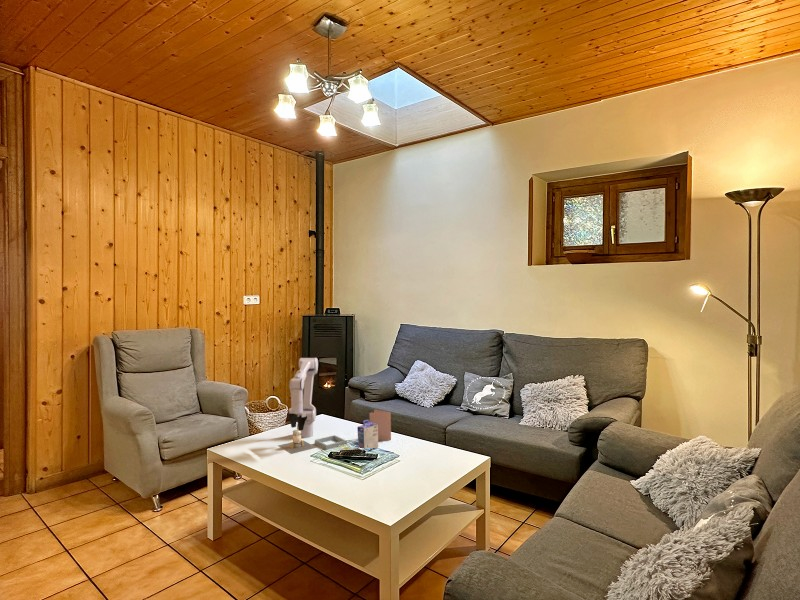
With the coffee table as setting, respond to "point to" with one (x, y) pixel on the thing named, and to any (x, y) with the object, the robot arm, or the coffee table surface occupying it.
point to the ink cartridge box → (368, 435)
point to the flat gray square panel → (290, 448)
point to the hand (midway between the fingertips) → (297, 428)
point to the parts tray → (334, 437)
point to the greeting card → (382, 423)
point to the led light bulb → (297, 438)
